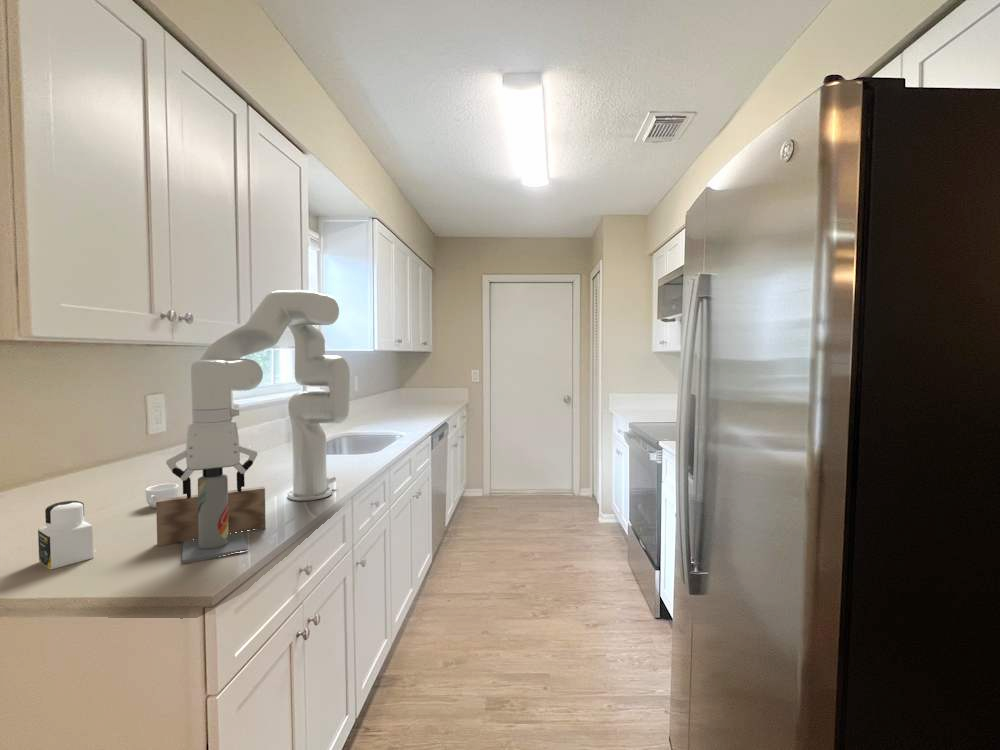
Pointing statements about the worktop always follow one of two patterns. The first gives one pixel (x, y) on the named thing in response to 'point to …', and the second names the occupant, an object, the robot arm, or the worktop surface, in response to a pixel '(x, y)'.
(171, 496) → the teacup
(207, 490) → the lotion bottle
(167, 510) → the brown wooden board
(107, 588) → the worktop surface
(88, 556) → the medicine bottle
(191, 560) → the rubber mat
